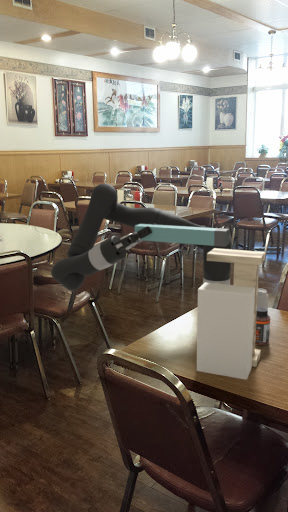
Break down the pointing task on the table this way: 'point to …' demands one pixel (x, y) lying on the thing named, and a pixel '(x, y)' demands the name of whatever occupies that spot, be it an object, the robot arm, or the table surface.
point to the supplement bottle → (262, 326)
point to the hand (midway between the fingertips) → (153, 227)
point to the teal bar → (186, 235)
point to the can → (262, 298)
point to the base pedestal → (225, 329)
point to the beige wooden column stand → (243, 277)
